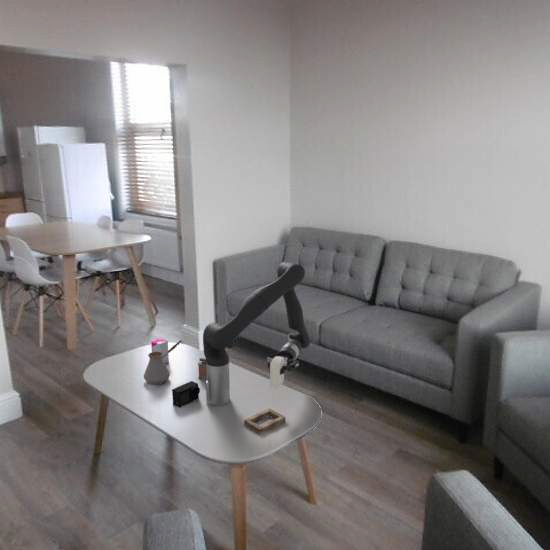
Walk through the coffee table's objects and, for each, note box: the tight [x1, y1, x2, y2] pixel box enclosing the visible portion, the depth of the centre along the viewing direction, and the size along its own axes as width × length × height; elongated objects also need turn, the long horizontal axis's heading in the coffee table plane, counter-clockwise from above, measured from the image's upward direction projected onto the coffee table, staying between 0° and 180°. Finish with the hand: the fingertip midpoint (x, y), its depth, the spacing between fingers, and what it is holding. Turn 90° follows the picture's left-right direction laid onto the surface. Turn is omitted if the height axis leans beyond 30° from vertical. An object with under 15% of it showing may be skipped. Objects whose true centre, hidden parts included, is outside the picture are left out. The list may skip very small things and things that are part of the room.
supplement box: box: [150, 338, 170, 365], centre depth 251 cm, size 6×6×12 cm
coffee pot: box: [143, 339, 184, 386], centre depth 236 cm, size 21×12×15 cm, turn 141°
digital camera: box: [171, 380, 201, 408], centre depth 215 cm, size 10×5×7 cm, turn 139°
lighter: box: [197, 357, 207, 381], centre depth 235 cm, size 8×3×10 cm, turn 74°
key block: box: [269, 355, 285, 389], centre depth 205 cm, size 4×7×10 cm, turn 163°
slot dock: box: [243, 407, 286, 435], centre depth 200 cm, size 13×9×2 cm
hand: (275, 371), depth 203 cm, fingers closed on key block, 3 cm apart
